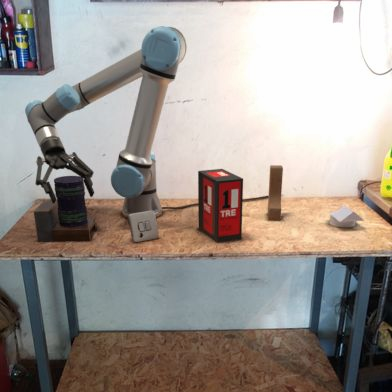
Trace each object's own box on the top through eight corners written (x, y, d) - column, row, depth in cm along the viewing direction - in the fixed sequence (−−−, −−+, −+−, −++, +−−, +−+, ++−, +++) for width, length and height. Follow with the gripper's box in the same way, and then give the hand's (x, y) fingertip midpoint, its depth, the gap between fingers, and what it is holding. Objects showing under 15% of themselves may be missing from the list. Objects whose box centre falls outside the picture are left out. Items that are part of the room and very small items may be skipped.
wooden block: (280, 220, 211) (283, 170, 202) (268, 220, 211) (271, 170, 202) (279, 213, 219) (282, 165, 210) (267, 213, 219) (270, 165, 210)
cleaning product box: (241, 239, 192) (243, 178, 183) (217, 242, 190) (217, 181, 180) (221, 225, 206) (222, 168, 196) (198, 228, 203) (198, 170, 193)
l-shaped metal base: (96, 228, 205) (93, 199, 200) (89, 241, 192) (86, 211, 187) (47, 228, 205) (43, 200, 200) (37, 241, 193) (33, 211, 188)
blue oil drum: (72, 217, 203) (67, 174, 195) (94, 221, 198) (89, 177, 191) (53, 224, 195) (47, 180, 188) (75, 229, 191) (69, 183, 183)
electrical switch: (134, 243, 190) (131, 215, 186) (128, 240, 194) (125, 213, 190) (159, 238, 194) (157, 211, 190) (152, 236, 198) (150, 209, 194)
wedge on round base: (363, 229, 200) (349, 219, 211) (366, 210, 197) (351, 201, 208) (338, 231, 199) (325, 220, 210) (341, 212, 196) (327, 202, 207)
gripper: (82, 147, 203) (104, 198, 200) (13, 155, 191) (36, 210, 187) (86, 133, 197) (110, 185, 193) (15, 141, 185) (39, 197, 181)
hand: (73, 197), depth 190 cm, fingers open, 13 cm apart
